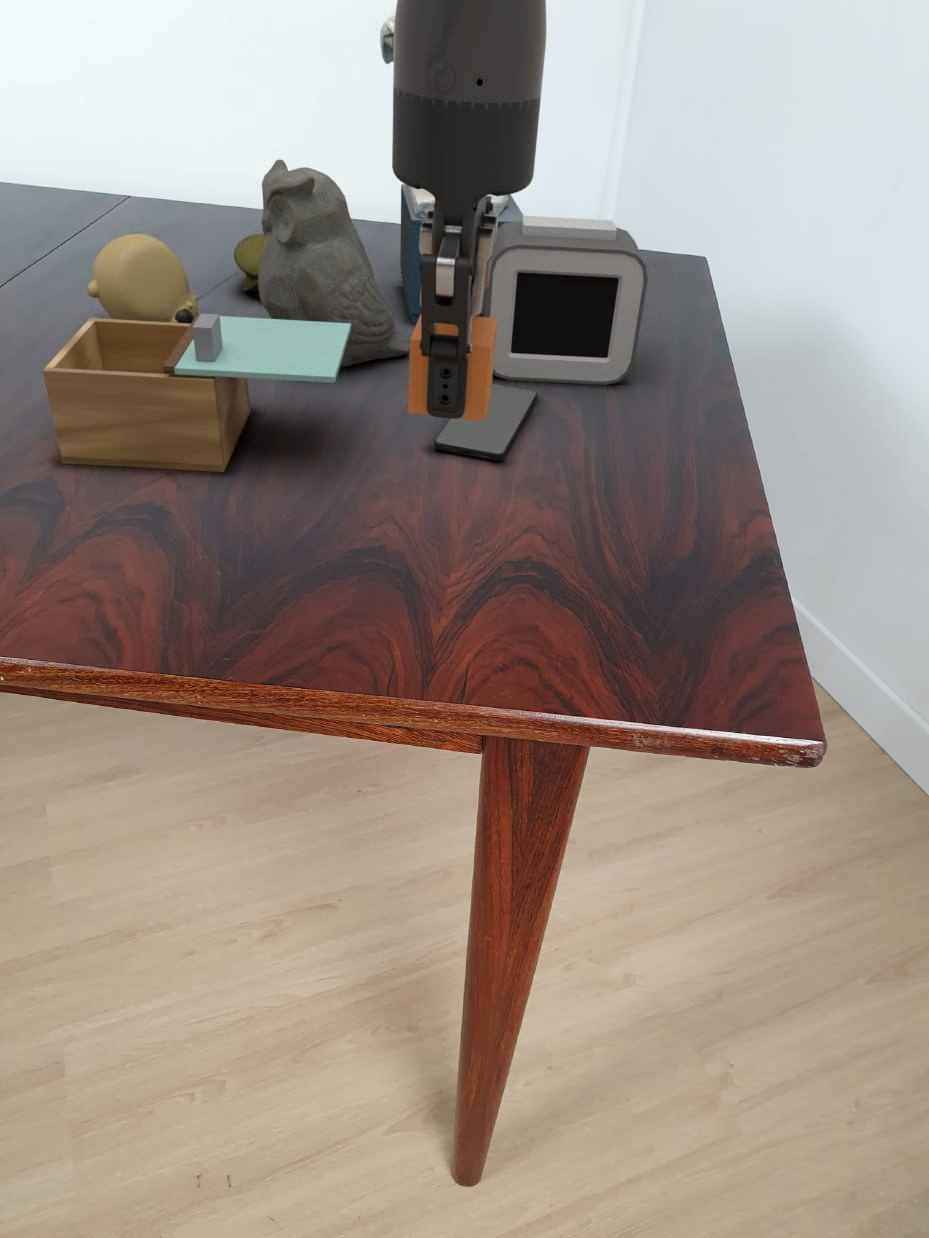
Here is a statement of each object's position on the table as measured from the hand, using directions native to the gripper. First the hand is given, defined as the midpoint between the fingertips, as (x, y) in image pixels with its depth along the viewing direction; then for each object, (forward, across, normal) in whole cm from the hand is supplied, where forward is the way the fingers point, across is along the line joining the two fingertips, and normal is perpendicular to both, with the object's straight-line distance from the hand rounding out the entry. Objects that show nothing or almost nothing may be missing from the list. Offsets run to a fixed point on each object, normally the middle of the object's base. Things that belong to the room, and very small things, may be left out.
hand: (450, 395), depth 60 cm
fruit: (+19, +69, +30) cm, 78 cm away
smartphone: (+19, +35, -1) cm, 39 cm away
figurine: (+19, +49, +18) cm, 55 cm away
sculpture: (+19, +69, +8) cm, 72 cm away
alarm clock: (+19, +52, -7) cm, 56 cm away
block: (0, 0, 0) cm, 0 cm away
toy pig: (+19, +51, +40) cm, 68 cm away
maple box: (+19, +26, +30) cm, 43 cm away
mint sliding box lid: (+10, +26, +19) cm, 34 cm away
